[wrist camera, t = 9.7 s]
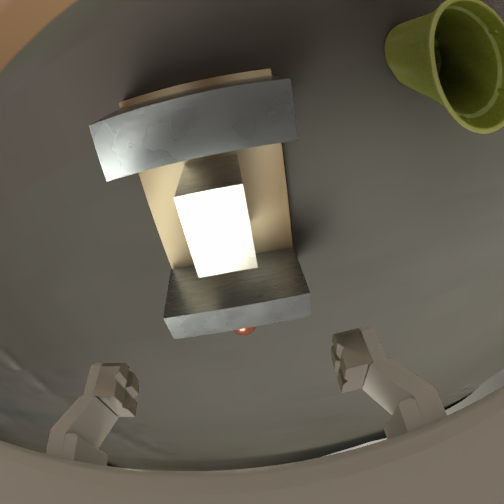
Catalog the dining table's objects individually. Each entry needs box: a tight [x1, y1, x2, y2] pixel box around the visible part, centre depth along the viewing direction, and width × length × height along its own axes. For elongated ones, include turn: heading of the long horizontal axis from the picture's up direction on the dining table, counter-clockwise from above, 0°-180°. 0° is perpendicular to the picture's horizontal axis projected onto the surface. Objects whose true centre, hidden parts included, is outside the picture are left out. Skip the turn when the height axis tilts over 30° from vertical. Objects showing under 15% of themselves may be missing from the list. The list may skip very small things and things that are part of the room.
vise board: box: [119, 69, 293, 269], centre depth 24 cm, size 11×18×1 cm, turn 9°
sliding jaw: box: [163, 247, 311, 339], centre depth 26 cm, size 11×6×6 cm, turn 99°
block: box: [174, 154, 258, 278], centre depth 21 cm, size 4×6×6 cm, turn 8°
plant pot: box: [385, 0, 504, 134], centre depth 15 cm, size 9×9×9 cm
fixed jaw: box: [89, 75, 298, 181], centre depth 17 cm, size 11×4×6 cm, turn 99°
